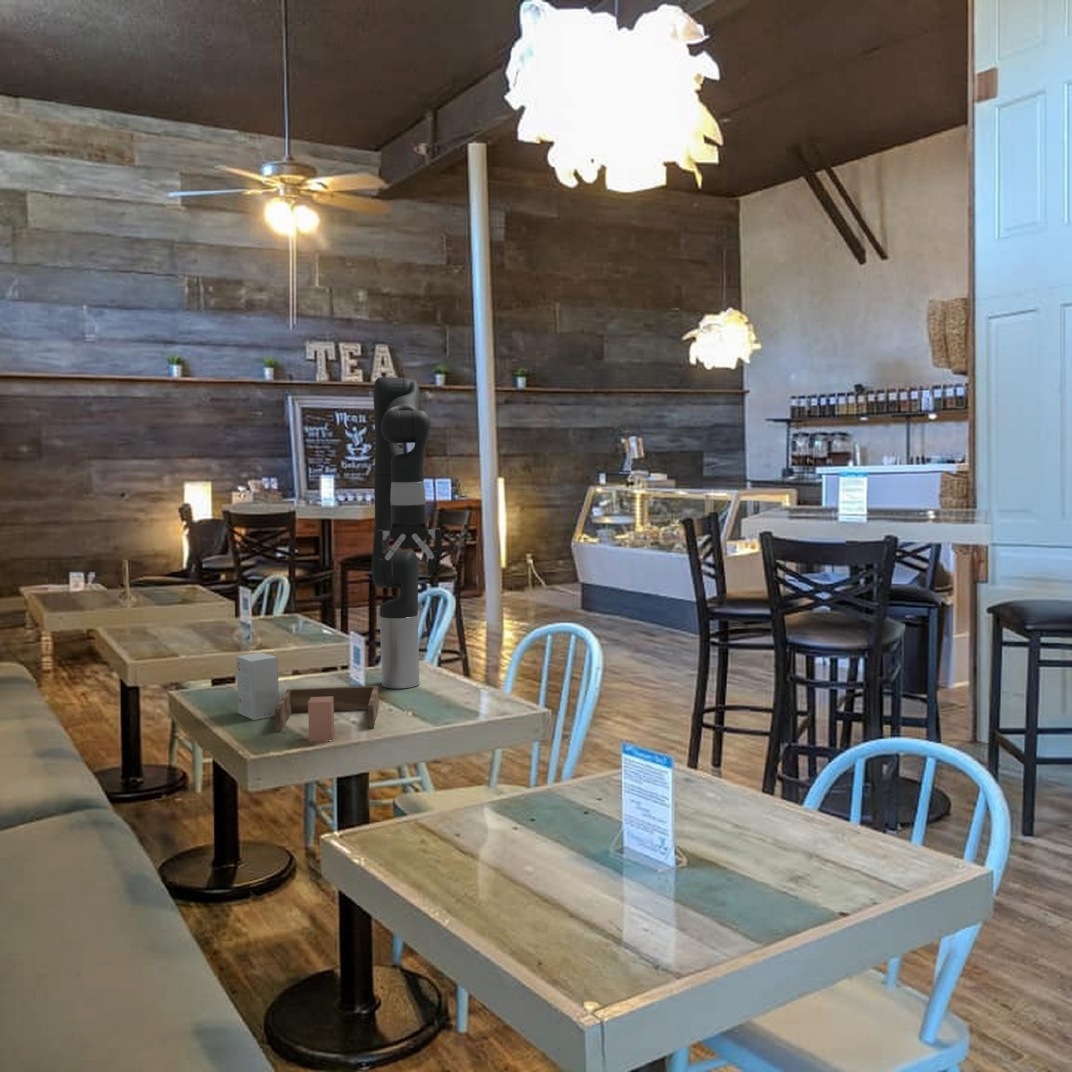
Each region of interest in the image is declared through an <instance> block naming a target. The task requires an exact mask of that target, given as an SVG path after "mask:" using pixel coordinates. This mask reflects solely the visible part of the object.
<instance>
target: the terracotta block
mask: <svg viewBox="0 0 1072 1072" xmlns="http://www.w3.org/2000/svg"><path fill="white" fill-rule="evenodd" d="M307 713H308V714H307V716H308V717H307V719H308V739H309V740H308V742H309V743H312V742H311V741H322V742H330V741H329V740H332V741H333V740H334V738H335V735H336V734H335V733H336V732H335V711H334V702H333V696H327V697H311V698H310V700H309V701H308V712H307ZM334 734H335V735H334ZM333 737H334V738H333ZM326 740H327V741H326Z"/></svg>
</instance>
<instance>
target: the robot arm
mask: <svg viewBox="0 0 1072 1072" xmlns="http://www.w3.org/2000/svg"><path fill="white" fill-rule="evenodd" d="M420 395H421V393H420V387H419V383H418V382H417V381H416V380H415V379H413V378H409V377H390V376H382V377H377V378H375V381H374V384H373V395H372V396H373V413H374V415H373V416H374V417H373V418H374V420H373V421H374V434H375V435H374V436H375V441H374V443H375V445H374V447H375V448H374V451H375V452H374V472H373V475H374V476H373V477H374V478H373V480H374V483H373V487H374V488H373V491H374V493H373V494H374V529H373V531H374V532H373V543H372V544H373V545H372V555H371V556H372V557H371V576H372V581H373V584H374V585H375V587H377V588H383V589H384V588H385V589H386V588H387V589H388V588H390V589H393V588H394V589H399V588H400V589H401V593H400V595H399V596H397V597H395V598H394V599H391V600H387V601H385V602H383V603H382V604H380V606H379V630H380V632H379V633H380V634H379V635H380V666H381V668H380V669H381V670H380V671H381V673H380V674H381V686H382V687H384V688H387V689H408V688H413V687H416V686H419V685H420V647H419V646H420V644H419V642H420V641H419V639H420V638H419V612H418V611H419V610H418V605H419V558H418V554H417V553H416V552H415V551H414V550H417V549H419V548H420V549H421V550H422V551H423V553H425V555H426V556H427V557H428V558H427V573H428V574H427V576H428V577H432V576H433V575H432V574H434V573H435V570H436V567H435V560H436V558H437V557H440V556H442V555H443V545H442V535H441V534H442V532H441V529H440V527H437V528H434V529H433V528H432V529H430V528H429V529H428V527H427V512H426V511H427V507H426V506H427V505H426V501H427V500H426V489H425V482H424V480H425V478H424V477H425V476H424V460H425V459H424V458H425V451H426V447H427V443H428V441H429V440H428V439H429V436H430V432H431V425H432V423H431V419H430V417H429V414H428V413H426V412H425V411H424V410H420V401H421V399H420ZM412 443H414V445H413V448H412V449H411V450H410V451H408V452H403V450H402V449H401V446H399V444H412ZM429 535H430V536H431V539H433V540H435V549H436V550H434V551H432V549H431V548H430V547H429V546H428V544H427V543H426V542H425V540H426V539H427V537H428V536H429ZM391 540H392V541H393V542H394V543H393V544H392V546H391V547H390V541H391Z"/></svg>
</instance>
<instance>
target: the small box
mask: <svg viewBox="0 0 1072 1072" xmlns="http://www.w3.org/2000/svg"><path fill="white" fill-rule="evenodd" d="M235 659H236V660H235V661H236V685H237V689H236V690H237V709H238V710H237V712H238V713H237V714H239V715H241V716H243V717H246V718H248V719H251V720H252V721H257V720H261V719H266V718H272V717H275V708H276V706H277V704H278V703H279V701H280V695H279V694H280V691H279V690H280V689H279V665H278V664H279V663H278V661H279V660H278V657H277V656H274V655H271V654H267V653H264V652H257V653H255V652H254V653H248V654H247V653H246V654H241V655H236V657H235Z"/></svg>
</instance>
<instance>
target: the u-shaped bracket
mask: <svg viewBox="0 0 1072 1072" xmlns="http://www.w3.org/2000/svg"><path fill="white" fill-rule="evenodd" d="M327 696H333V702H334V710H337V711H353V710H352V709H364V710H368V729H374V728H375V725H376V722H375V721H377V716H378V712H379V709H380V700H379V685H369V686H368V685H363V686H339V687H338V686H336V687H333V686H332V687H311V688H309V687H307V688H287V689H286V691H285V692H284V694H283V695H282V696H281V698H280V699H279V703H278V704H277V706H276V708H275V716H274V717H275V718H274V719H275V732H276V733H281V732H282V731H283V729H284V727H285V725H286V724H287V722H288V720H289V718H290V716H291V715H292V713H308V701H309V700H310V698H311V697H327ZM290 714H291V715H290ZM286 721H287V722H286ZM282 728H283V729H282Z"/></svg>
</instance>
